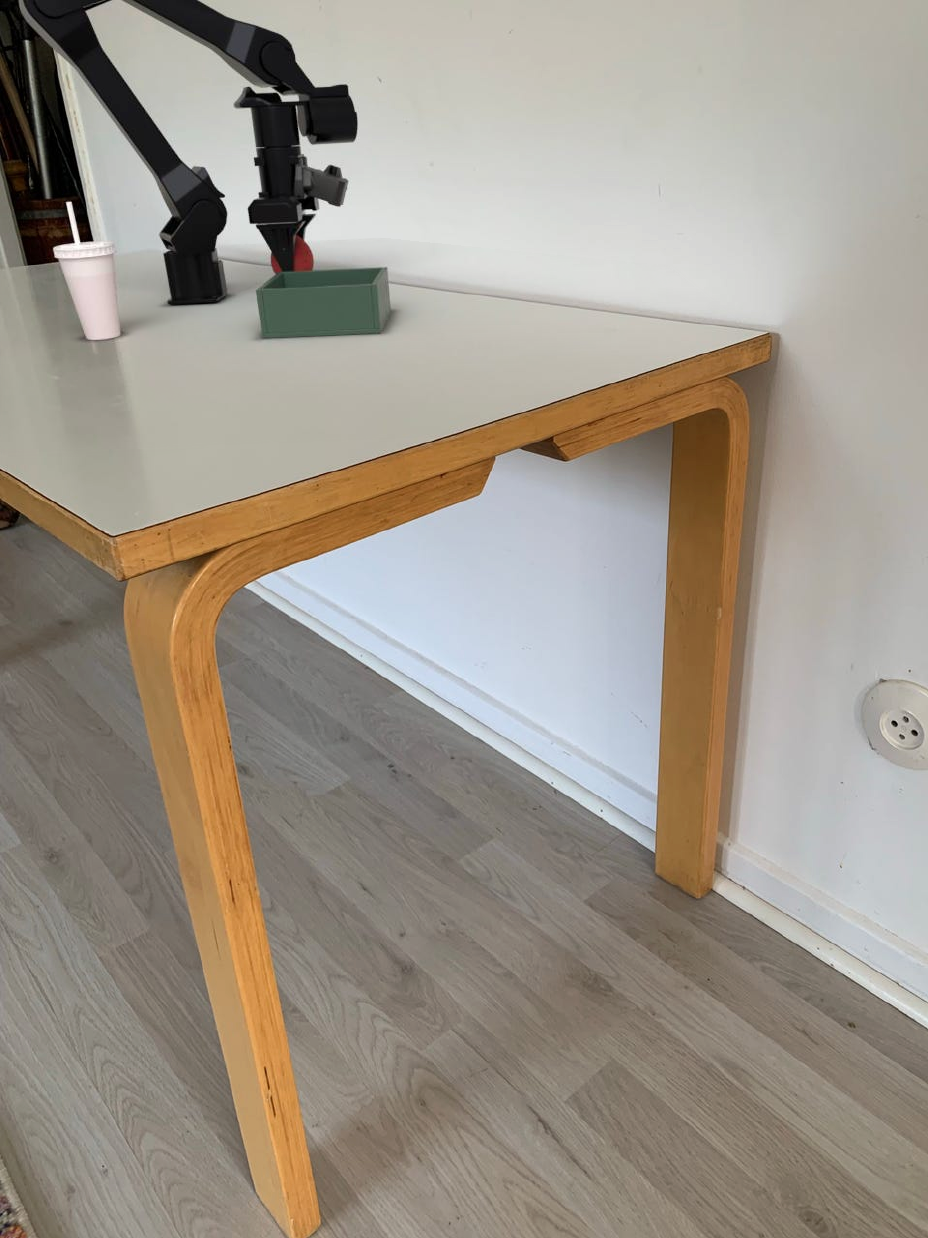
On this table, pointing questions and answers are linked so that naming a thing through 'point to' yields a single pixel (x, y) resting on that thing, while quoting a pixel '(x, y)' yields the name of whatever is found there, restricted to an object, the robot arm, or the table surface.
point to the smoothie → (91, 283)
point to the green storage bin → (324, 302)
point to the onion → (298, 257)
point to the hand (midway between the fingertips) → (293, 273)
